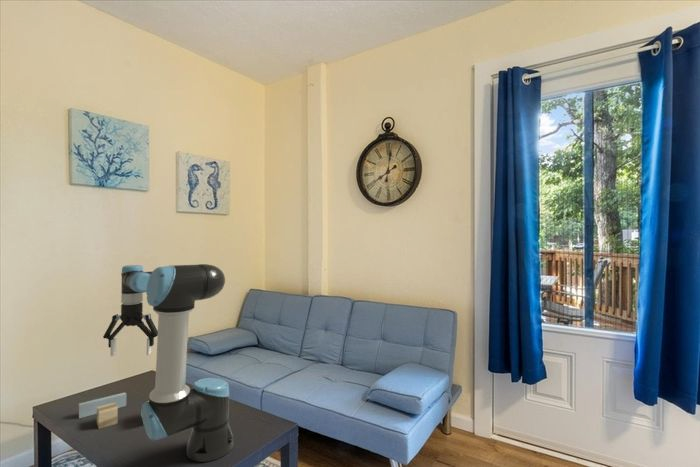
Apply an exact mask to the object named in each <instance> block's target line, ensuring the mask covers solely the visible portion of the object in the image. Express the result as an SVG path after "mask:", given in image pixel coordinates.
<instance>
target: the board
mask: <svg viewBox="0 0 700 467" xmlns="http://www.w3.org/2000/svg"><path fill="white" fill-rule="evenodd" d="M111 403H116V405H117V408H118V409H119V408H123V407H127V393H126V392H121V393H118V394H112V395H108V396H105V397H99V398H95V399H91V400H87V401H85V402H79V403H78V419H82V418H86V417H91V416H93V415H97V407H100V406H104V405H108V404H111Z"/></svg>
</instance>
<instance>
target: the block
mask: <svg viewBox="0 0 700 467" xmlns="http://www.w3.org/2000/svg"><path fill="white" fill-rule="evenodd" d="M118 410H119V408H117V405H116V403H111V404H108V405H104V406H100V407H97V414H96V425H97V428H98V430H99V429H103V428H106V427H110V426H113V425H117V424H118V422H119V421H118V416H119V415H118V413H119V411H118Z"/></svg>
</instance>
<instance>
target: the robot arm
mask: <svg viewBox="0 0 700 467" xmlns="http://www.w3.org/2000/svg"><path fill="white" fill-rule="evenodd" d="M120 275H121V296H120V297H121V298H120V300H121V301H120V302H121V305H120V315H119V314H116V313H115V314H114V315H112V317H111V322H110V323H109V325H108V327H107V329H106V331H105V332H104V334H103V337H102V338H103V339H107V340H108V344H107V345H108V348H110V357H113V356H115V355H116V354H117V338H116V336H118V334H119V333H120V331H121V330H122V329H124V327H125V326H126V327H130V326H131V327H138V329H140V331H141V332H143V334H144V335H145V336H147V339H146V355H147V356H149V355H150V354H152V347H153V346H154V344H155V338H156V337H157V339H156V340H157V343H156V364H155V383H154V384H155V385H154V388H153V389H152V390H151V392H149V395H148V401H149V402H147V401H145V402H144V403H143V404H142V405H141V408H140V410H141V411H140V414H141V413H142V417H141V419H142V423H143V427H144V430H145V432H146V435H147V437H148V438H149V439H150V440H151V441H159V440H161V439H164V438H168V437H169V436H173V435H176V434H178V433H180V432H184V431H186V430H188V429H191V428H192V430H191V433H190V435H189V438H188V441H187V444H186V456H187V458H188V459H190V460H191V461H194V462H199V463H200V462H201V463H202V462H203V463H205V462H211V461H215V460H218V459H220V458H222V457H224V456H226V455H227V454H228V453H230V452H231V450H232V449H233V447H234V435H233V432H232V429H231V425H230V422H229V421H230V420H229V416H230V415H229V413H230V412H229V411H230V404H229V403H230V395H231V393H230V388H229V386H230V385H229V383H228V382H227V381H226V380H224V379H223V378H222V379H221V378H216V377H207V378H206V377H205V378H200V379H198V380H196V381H194V382H193V385H192V388H190V386H188V385H187V384H186V381H187V380H186V378H187V377H186V376H187V361H188V360H187V357H188V341H189V340H188V338H189V337H188V336H189V321H190V320H189V318H190V317H189V316H190V313H191V312H192V311H193V310H194V309H195V302H196V301H202V300H207V299H211V298H213V297H215V296H217V295H218V294H220V292H221V291H222V290H223V289H224V287H225V284H226V277H225V274H224V272H223V271H222V269H220V267H218V266H215V265H213V264H208V263H207V264H205V263H201V264H200V263H199V264H181V265H179V264H178V265H171V264H170V265H165V266H158V267H156V268H154V269H153V270H152V271H145V270H144V267H143V265H140V264H131V265H124V266H122V267H121V274H120ZM144 293H146V300H147V304H148V306H151V307H152V308H153V309H152V311H153V312H155V313H156V314H157V315H158V316H157V317H158V320H157V327H156V325H155V323H154V322H153V319H152V314H151V313H148V314H143V308H144V307H143V306H144V305H143V304H144V303H143V301H144V300H143V299H144V298H143V297H144ZM143 319H144V321H145V323H146V324H145V323H144V321H143ZM119 320H121V323H120V324H119V325H118V326H117V324H118V321H119ZM146 325H147V326H146ZM115 326H117V328H116V329H115ZM113 330H114V331H113Z"/></svg>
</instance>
